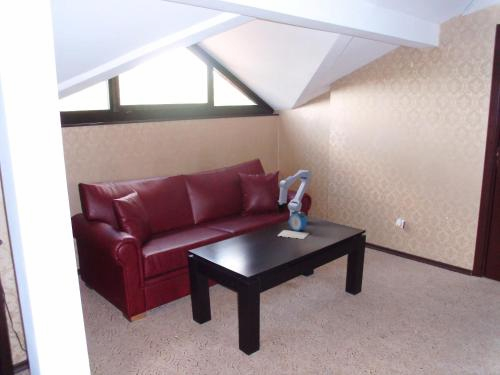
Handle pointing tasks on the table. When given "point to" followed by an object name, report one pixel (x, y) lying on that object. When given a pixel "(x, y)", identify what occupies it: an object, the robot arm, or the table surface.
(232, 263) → the table surface
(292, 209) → the robot arm
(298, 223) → the alarm clock
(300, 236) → the mat
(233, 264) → the table surface
